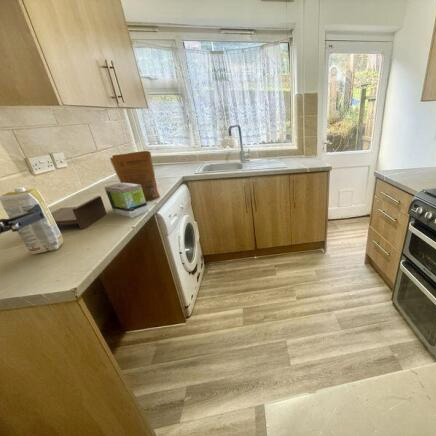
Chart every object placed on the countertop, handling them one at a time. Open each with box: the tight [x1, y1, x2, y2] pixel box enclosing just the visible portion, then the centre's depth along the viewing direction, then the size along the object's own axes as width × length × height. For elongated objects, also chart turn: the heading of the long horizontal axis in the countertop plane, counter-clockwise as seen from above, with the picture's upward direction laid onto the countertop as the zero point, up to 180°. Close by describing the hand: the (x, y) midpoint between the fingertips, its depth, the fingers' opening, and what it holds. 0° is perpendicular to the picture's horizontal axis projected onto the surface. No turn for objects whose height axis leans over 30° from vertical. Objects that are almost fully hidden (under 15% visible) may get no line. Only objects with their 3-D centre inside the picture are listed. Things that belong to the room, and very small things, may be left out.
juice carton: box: [0, 186, 64, 255], centre depth 89 cm, size 9×8×24 cm
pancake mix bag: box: [109, 150, 161, 202], centre depth 138 cm, size 7×19×28 cm, turn 116°
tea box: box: [104, 182, 149, 219], centre depth 123 cm, size 15×10×15 cm, turn 63°
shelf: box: [50, 195, 108, 231], centre depth 114 cm, size 20×18×10 cm
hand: (11, 212), depth 78 cm, fingers open, 13 cm apart
